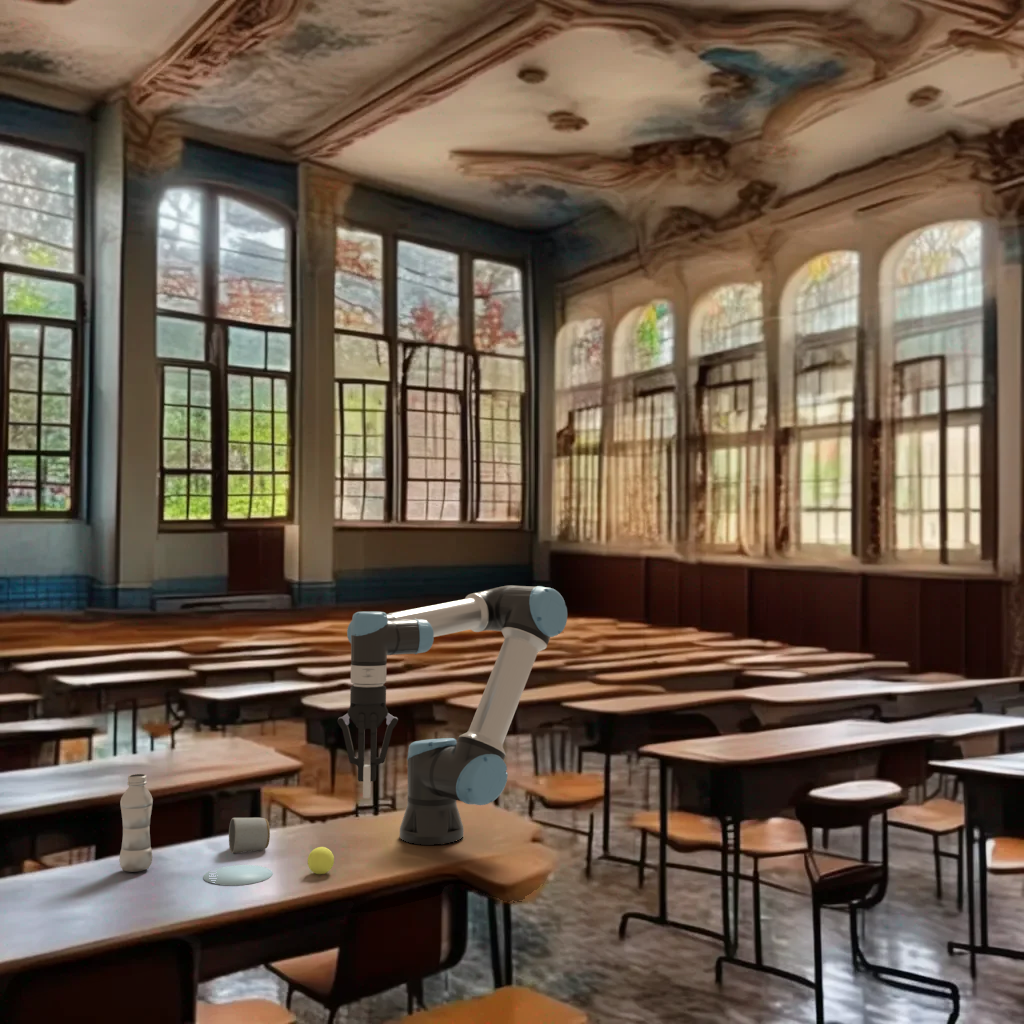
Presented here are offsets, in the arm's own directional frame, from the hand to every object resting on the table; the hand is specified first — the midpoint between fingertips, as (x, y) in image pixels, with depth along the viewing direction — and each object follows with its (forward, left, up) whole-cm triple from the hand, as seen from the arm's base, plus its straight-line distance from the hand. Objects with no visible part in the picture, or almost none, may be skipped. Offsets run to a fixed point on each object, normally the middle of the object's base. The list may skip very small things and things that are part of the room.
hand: (366, 796), depth 235 cm
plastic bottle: (+48, -5, -16) cm, 51 cm away
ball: (+9, 0, -13) cm, 16 cm away
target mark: (+26, 0, -16) cm, 31 cm away
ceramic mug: (+28, -21, -16) cm, 38 cm away
